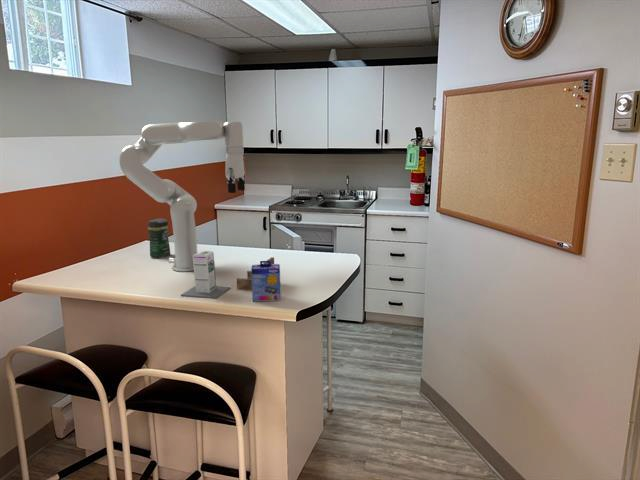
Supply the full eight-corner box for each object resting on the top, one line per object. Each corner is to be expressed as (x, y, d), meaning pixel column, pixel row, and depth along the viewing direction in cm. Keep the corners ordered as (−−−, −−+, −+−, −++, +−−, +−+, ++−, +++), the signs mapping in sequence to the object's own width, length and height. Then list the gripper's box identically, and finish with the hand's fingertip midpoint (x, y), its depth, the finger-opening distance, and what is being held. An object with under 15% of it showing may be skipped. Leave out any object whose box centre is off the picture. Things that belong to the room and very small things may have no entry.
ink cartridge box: (252, 302, 163) (250, 262, 160) (253, 297, 168) (251, 258, 165) (280, 301, 164) (279, 261, 161) (280, 296, 169) (279, 257, 166)
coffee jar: (161, 259, 224) (158, 220, 220) (147, 258, 226) (143, 220, 222) (173, 254, 233) (170, 217, 229) (159, 253, 235) (156, 216, 231)
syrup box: (210, 293, 171) (207, 255, 168) (195, 292, 173) (192, 254, 170) (216, 288, 177) (214, 251, 174) (202, 287, 178) (199, 250, 175)
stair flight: (237, 289, 177) (235, 263, 175) (248, 280, 188) (247, 256, 186) (264, 291, 175) (263, 265, 173) (275, 281, 186) (274, 257, 183)
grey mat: (181, 296, 171) (180, 294, 171) (197, 286, 182) (197, 284, 182) (216, 298, 167) (216, 297, 167) (230, 288, 179) (230, 286, 179)
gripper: (234, 150, 209) (236, 189, 212) (217, 152, 192) (220, 193, 196) (250, 150, 207) (252, 189, 210) (234, 151, 190) (236, 194, 194)
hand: (236, 191), depth 203 cm, fingers open, 9 cm apart
